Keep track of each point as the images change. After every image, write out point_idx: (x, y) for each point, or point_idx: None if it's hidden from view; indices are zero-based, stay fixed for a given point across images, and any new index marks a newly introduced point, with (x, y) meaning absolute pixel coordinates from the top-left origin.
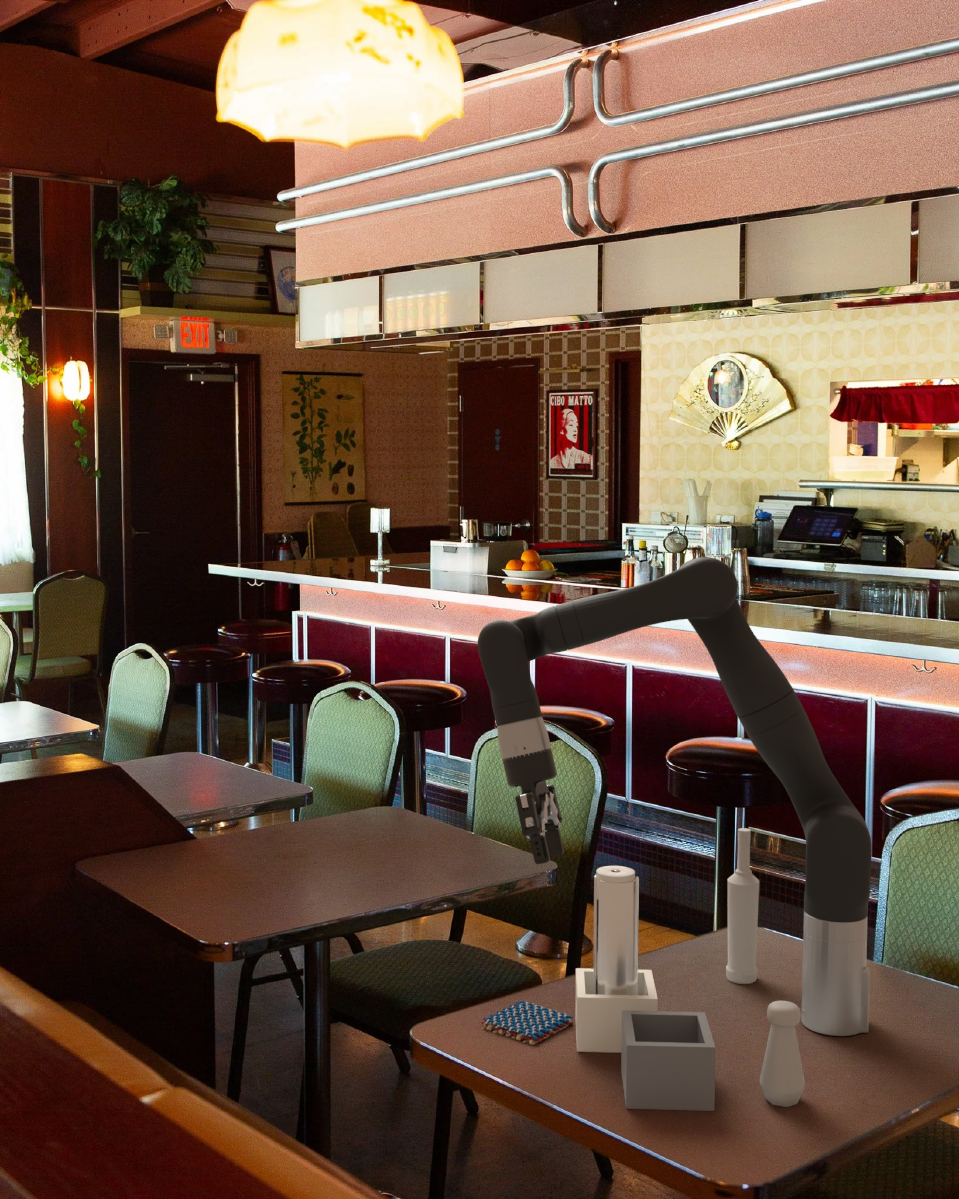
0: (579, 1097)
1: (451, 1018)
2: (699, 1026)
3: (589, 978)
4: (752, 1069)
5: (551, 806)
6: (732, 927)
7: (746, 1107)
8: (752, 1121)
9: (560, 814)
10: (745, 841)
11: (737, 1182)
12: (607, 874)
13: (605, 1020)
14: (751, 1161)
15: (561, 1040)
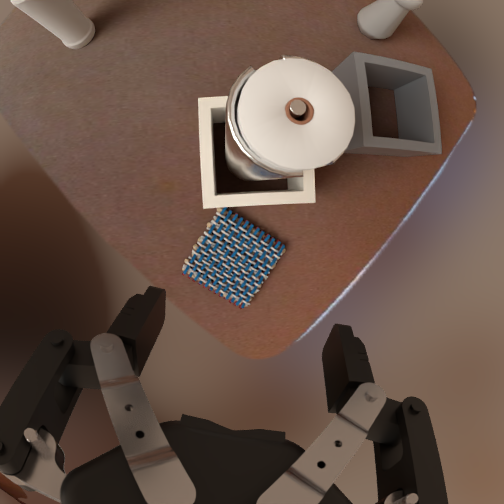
0: (391, 197)
1: (223, 338)
2: (384, 66)
3: (214, 187)
4: (315, 32)
5: (163, 439)
6: (62, 17)
7: None
8: (407, 61)
9: (43, 348)
10: None
11: (473, 101)
12: (336, 137)
13: None
14: (453, 83)
15: (268, 216)
